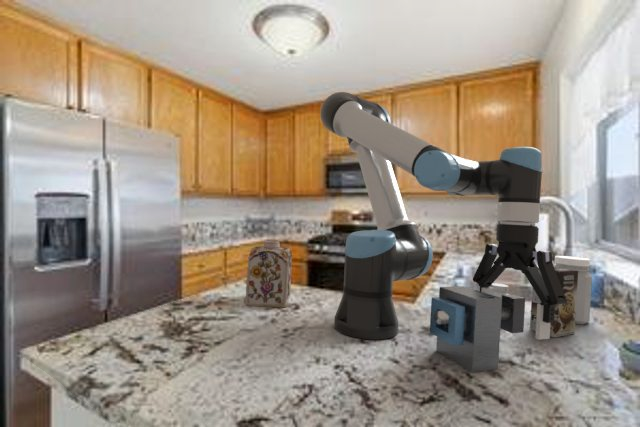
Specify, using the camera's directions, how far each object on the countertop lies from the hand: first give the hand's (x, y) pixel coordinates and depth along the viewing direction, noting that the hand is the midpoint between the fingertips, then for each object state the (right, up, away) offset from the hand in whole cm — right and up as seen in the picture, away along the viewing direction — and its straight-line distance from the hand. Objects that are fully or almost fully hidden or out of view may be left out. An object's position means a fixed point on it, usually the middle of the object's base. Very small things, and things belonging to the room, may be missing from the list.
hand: (511, 326), depth 72 cm
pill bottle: (+9, -6, +24) cm, 26 cm away
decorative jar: (-55, -3, +31) cm, 63 cm away
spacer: (-16, 0, -6) cm, 17 cm away
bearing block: (-11, -5, -4) cm, 13 cm away
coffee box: (+19, -7, +17) cm, 27 cm away
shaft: (-8, 0, -3) cm, 9 cm away
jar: (+32, -8, +29) cm, 44 cm away
